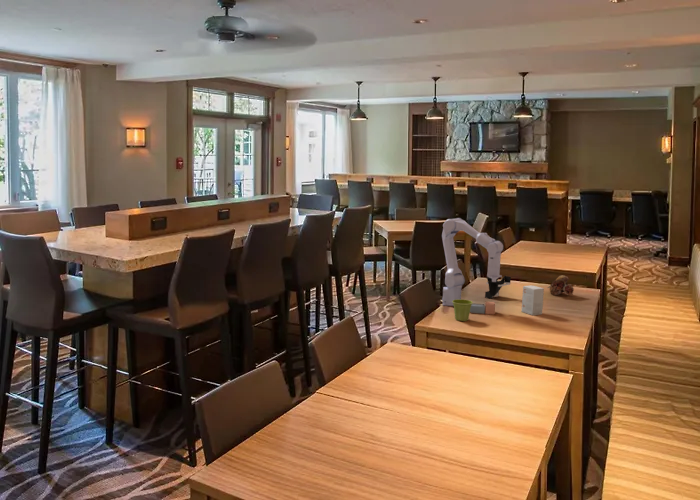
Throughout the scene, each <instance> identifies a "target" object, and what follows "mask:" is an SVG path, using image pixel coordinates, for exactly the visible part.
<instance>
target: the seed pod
mask: <svg viewBox="0 0 700 500" xmlns="http://www.w3.org/2000/svg"><path fill="white" fill-rule="evenodd" d="M569 280H570V279H569V277H568V276H566V275H563V274H562V275H559V276H558V277H557V278H556V279H555V280H553V281H551V282H550V284H549V286H548V287H546V288H547V289H548V290H549V292H550V295H553V296H558V295H561V294H565V295H567V296H570V295H573V293H574V290H575V288H574V286H573V285H572V284H571V283H568V281H569Z"/></svg>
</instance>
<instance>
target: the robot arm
mask: <svg viewBox="0 0 700 500" xmlns="http://www.w3.org/2000/svg"><path fill="white" fill-rule="evenodd" d="M442 227H443V228H442V233H441V239H442V245H443V250H444V256H445V262H446V267H447V269H446V272H445V273H444V274H445V275H444V276H445V278H444V284H445V286H443V287H442V288H443V290H442V297H441V302H442V306H448V307H454V305H453V302H452V301H453V300H457V299H462V289H463V288H462V287H463V285H464V284H465V281H466V280H465V279H466V278H465V277H464V275H463V273H462V270H461V269H460V268H459V264H458V258H457V253H456V252H457V251H456V245H455V241H454V237H455V236H456V235H457V234H458V233H459V232H465V233H466V234H467V235H469V236H471V237H473V239H475V242H476V243H477V244H479V245H480V246H482V248H485V249H486V251H487V253H488V259H487V260H488V261H487V274H486V279H487V282H488V284H487V285H488V289H489V290H488V291H490V295H493V296H495V294H496V290H497V287H498V285H499V283H500V282H497V281H499V278H503V276H502V274H500V272H501V269H500V268H501V259H502V258H501V255H502V251H503V250H504V244H503V242H502V241H500V240H496V239H495V238H492V237H490V236H489V235H488V233H487V232H479V231H478V230H476V229H475V228H474V227H473V226H471V225H470V224H469V223H467V222H466V220H464V219H462V218H461V217H456V218H447V219H446V220H445V221H444V223H443V224H442Z"/></svg>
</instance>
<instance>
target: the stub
mask: <svg viewBox="0 0 700 500" xmlns="http://www.w3.org/2000/svg"><path fill="white" fill-rule="evenodd" d="M484 304H485V313H484V314H485V315H495V312H496V302H495V301H485V302H484Z"/></svg>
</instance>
